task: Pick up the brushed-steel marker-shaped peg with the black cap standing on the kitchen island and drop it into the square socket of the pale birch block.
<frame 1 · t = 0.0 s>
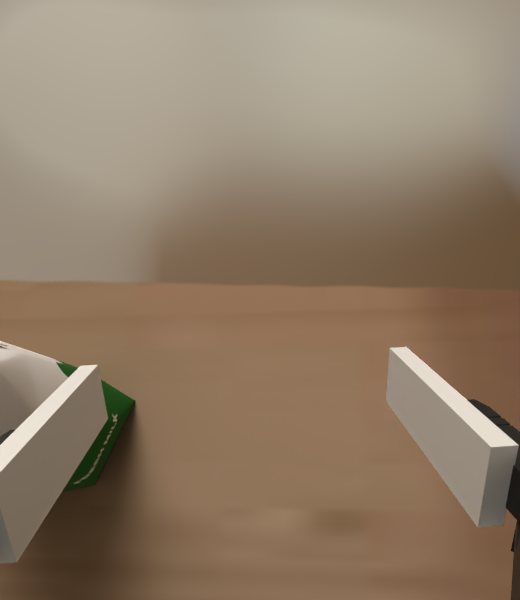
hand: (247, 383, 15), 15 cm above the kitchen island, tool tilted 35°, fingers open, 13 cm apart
milk carton: (80, 425, 29), on the kitchen island
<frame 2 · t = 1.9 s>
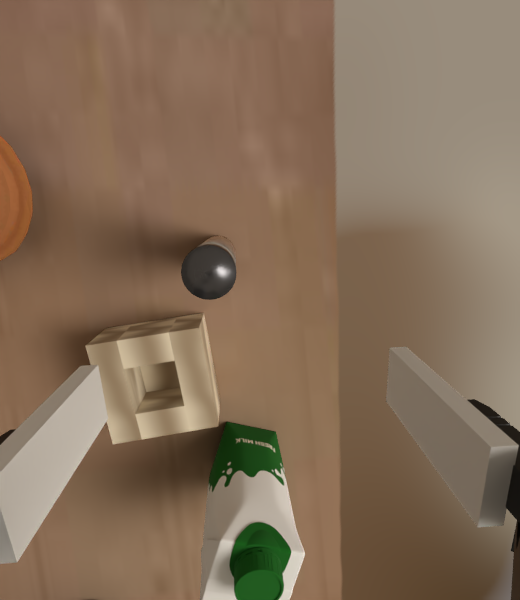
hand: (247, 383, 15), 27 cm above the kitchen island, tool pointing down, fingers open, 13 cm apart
milk carton: (244, 448, 47), on the kitchen island
steel peg: (218, 252, 41), on the kitchen island
birch socket block: (165, 365, 43), on the kitchen island
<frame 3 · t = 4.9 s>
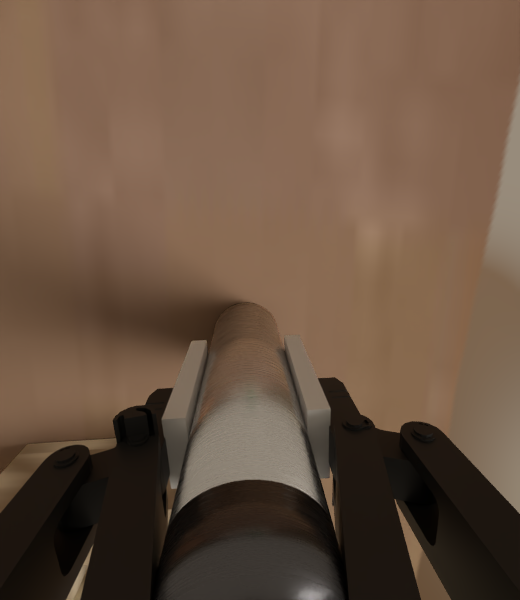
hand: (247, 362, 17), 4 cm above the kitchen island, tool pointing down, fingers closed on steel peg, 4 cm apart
steel peg: (246, 333, 21), on the kitchen island, touching gripper
birch socket block: (131, 509, 25), on the kitchen island
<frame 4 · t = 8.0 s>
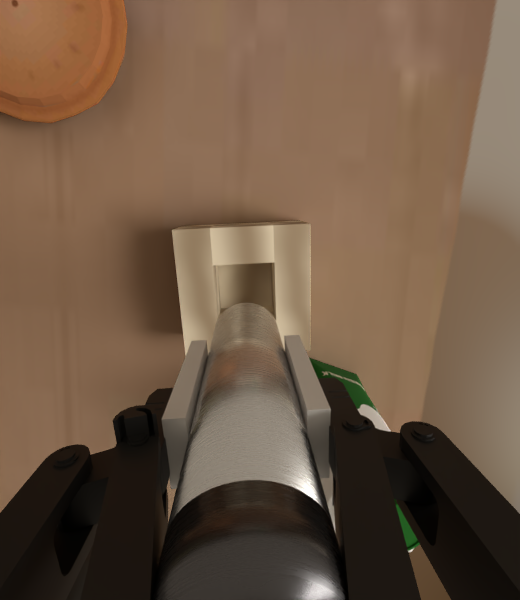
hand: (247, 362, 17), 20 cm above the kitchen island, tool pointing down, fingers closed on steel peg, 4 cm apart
milk carton: (317, 389, 41), on the kitchen island
steel peg: (246, 333, 21), point 16 cm above the kitchen island, touching gripper
pie: (52, 36, 31), on the kitchen island
birch socket block: (245, 279, 37), on the kitchen island
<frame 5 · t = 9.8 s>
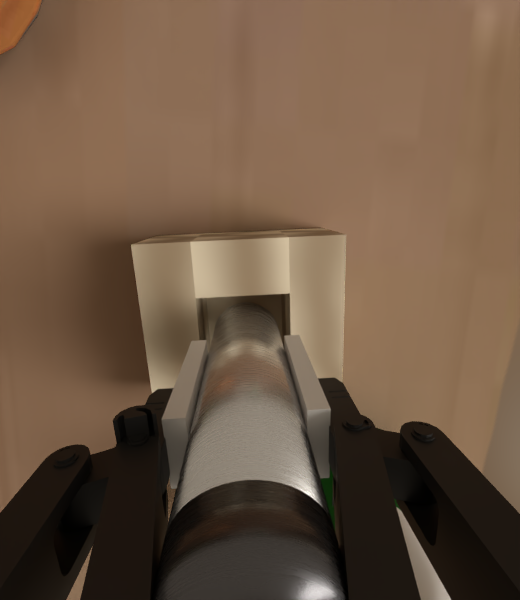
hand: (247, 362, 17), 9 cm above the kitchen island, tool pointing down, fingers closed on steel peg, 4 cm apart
milk carton: (342, 453, 31), on the kitchen island
steel peg: (246, 333, 21), point 5 cm above the kitchen island, touching gripper
birch socket block: (244, 310, 26), on the kitchen island
when the fingers open (8 cm above the kitchen island, at t = 11.0 s): steel peg drops 3 cm, resting on birch socket block.
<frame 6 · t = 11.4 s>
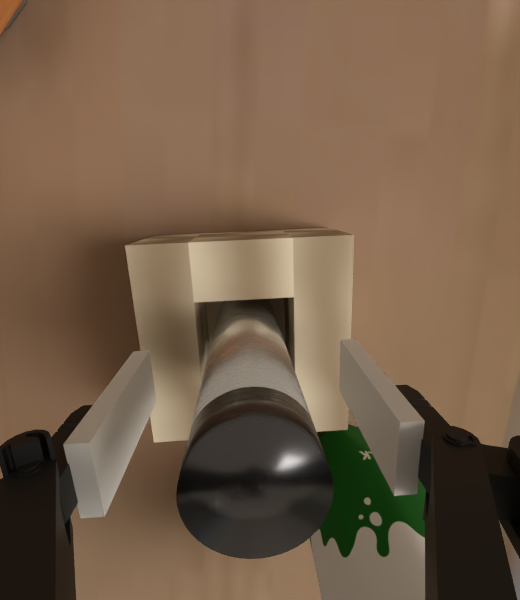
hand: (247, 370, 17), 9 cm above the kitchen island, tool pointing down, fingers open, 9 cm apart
milk carton: (347, 462, 30), on the kitchen island
steel peg: (245, 318, 24), point 1 cm above the kitchen island, touching birch socket block
birch socket block: (246, 313, 25), on the kitchen island
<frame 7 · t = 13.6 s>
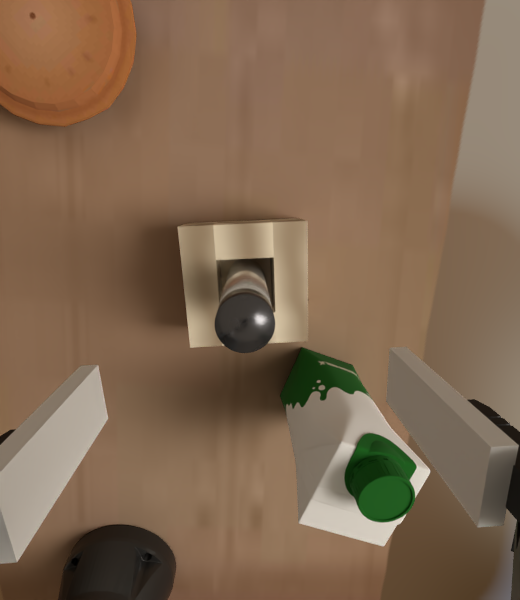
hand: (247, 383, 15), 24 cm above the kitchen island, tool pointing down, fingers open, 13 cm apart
milk carton: (315, 379, 43), on the kitchen island
steel peg: (245, 276, 38), point 1 cm above the kitchen island, touching birch socket block
pie: (65, 44, 33), on the kitchen island
birch socket block: (246, 274, 39), on the kitchen island
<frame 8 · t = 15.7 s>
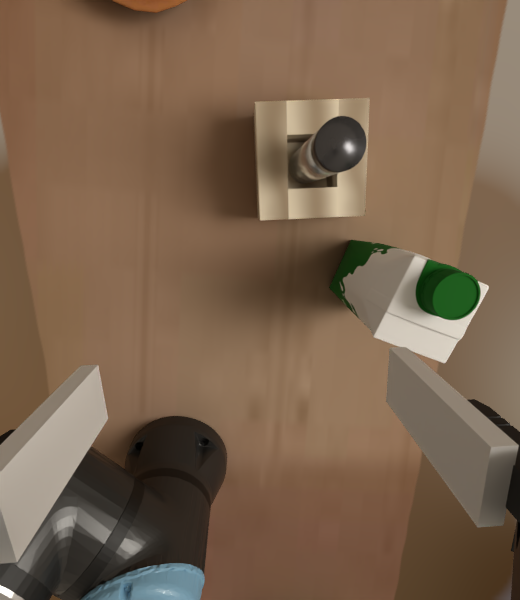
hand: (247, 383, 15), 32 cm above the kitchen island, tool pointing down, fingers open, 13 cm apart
milk carton: (361, 273, 47), on the kitchen island
steel peg: (304, 166, 42), point 1 cm above the kitchen island, touching birch socket block
birch socket block: (303, 167, 43), on the kitchen island
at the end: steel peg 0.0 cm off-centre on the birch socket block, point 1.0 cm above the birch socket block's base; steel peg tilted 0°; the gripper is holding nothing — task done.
